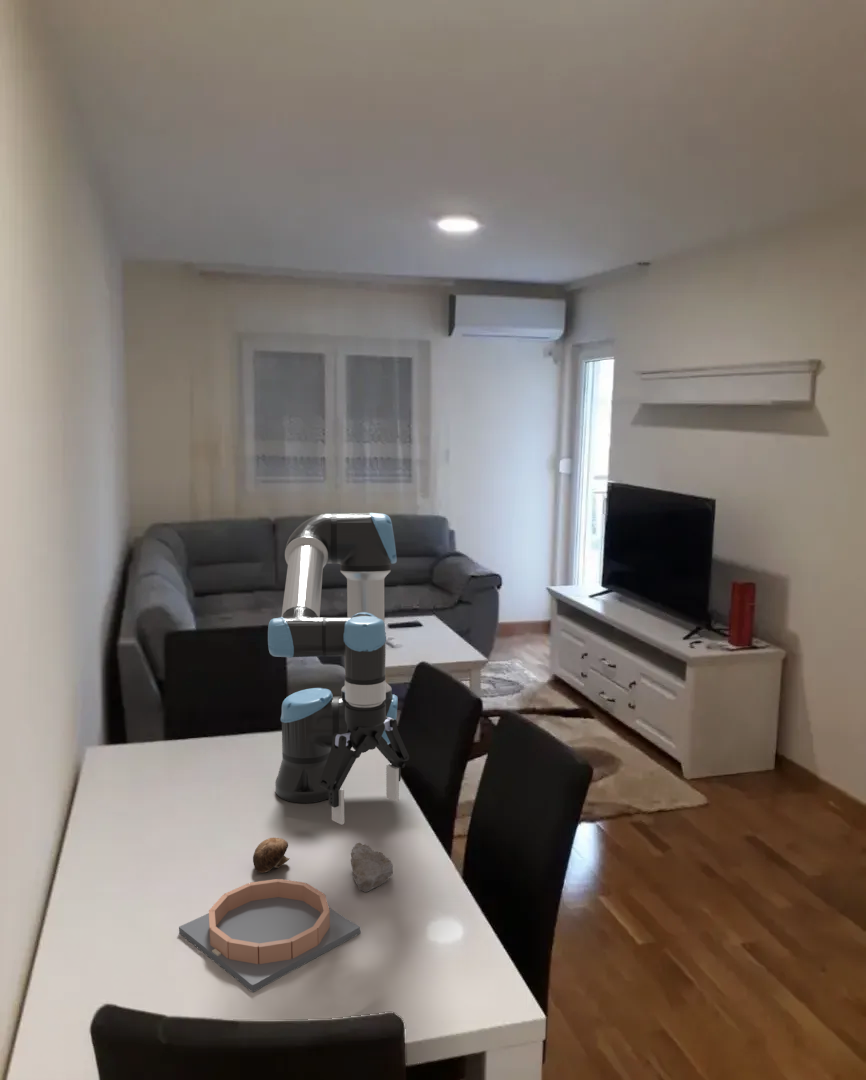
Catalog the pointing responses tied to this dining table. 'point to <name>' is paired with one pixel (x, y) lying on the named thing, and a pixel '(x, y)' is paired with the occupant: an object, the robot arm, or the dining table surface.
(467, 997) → the dining table surface
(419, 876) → the dining table surface
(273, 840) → the mushroom
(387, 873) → the stone
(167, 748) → the dining table surface
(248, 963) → the socket
